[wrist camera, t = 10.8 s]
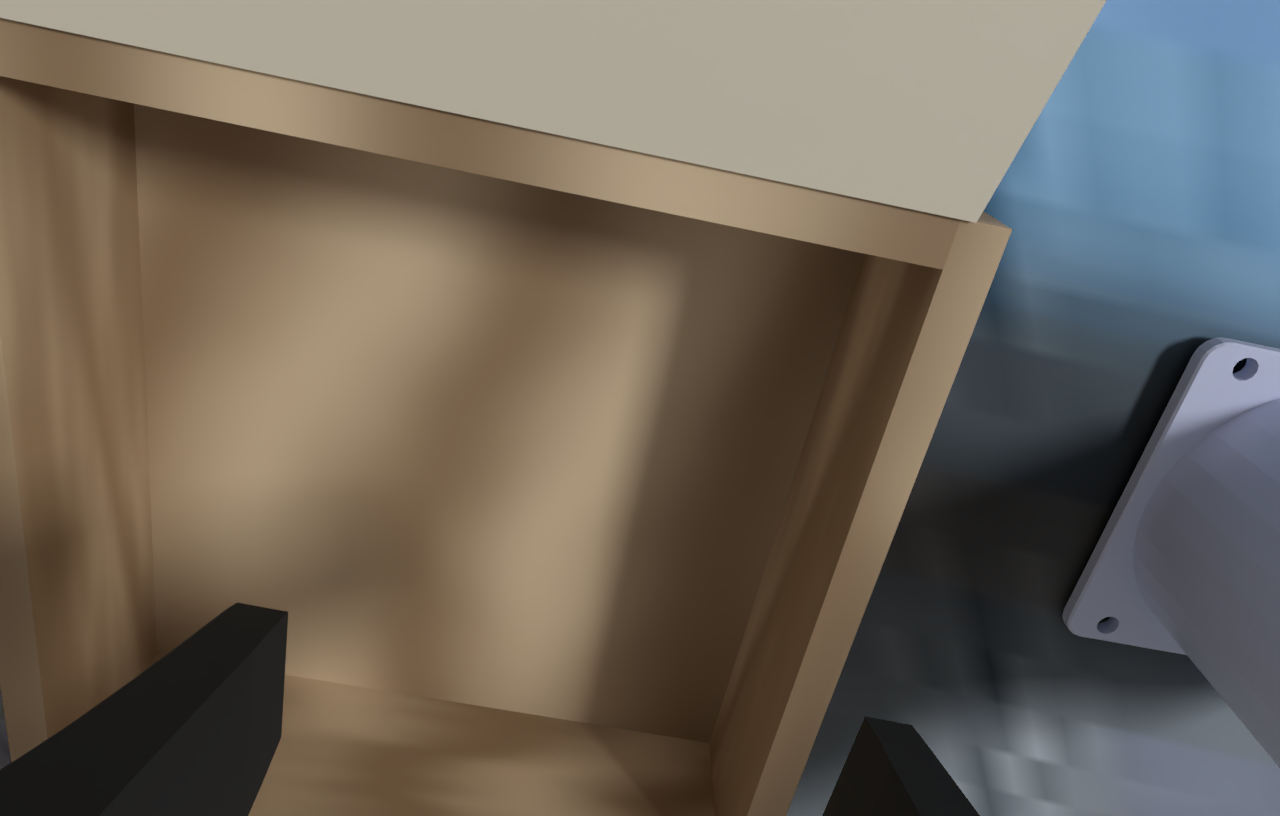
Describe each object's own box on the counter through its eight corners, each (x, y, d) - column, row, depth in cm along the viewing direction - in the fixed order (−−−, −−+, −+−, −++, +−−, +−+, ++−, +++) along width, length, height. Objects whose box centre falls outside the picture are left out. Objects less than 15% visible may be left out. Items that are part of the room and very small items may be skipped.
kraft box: (919, 171, 18) (1012, 229, 13) (728, 746, 24) (746, 917, 20) (109, -2, 16) (-99, -5, 12) (142, 651, 23) (17, 810, 19)
